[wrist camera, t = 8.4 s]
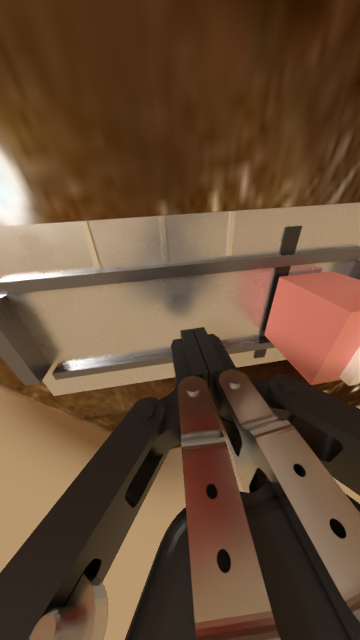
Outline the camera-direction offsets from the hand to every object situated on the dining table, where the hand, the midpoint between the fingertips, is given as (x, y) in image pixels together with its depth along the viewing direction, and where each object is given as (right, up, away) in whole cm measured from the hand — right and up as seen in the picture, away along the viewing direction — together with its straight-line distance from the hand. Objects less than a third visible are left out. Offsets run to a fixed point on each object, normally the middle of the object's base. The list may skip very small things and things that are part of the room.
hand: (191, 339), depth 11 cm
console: (0, +3, +4) cm, 4 cm away
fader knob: (+8, +2, +2) cm, 9 cm away
